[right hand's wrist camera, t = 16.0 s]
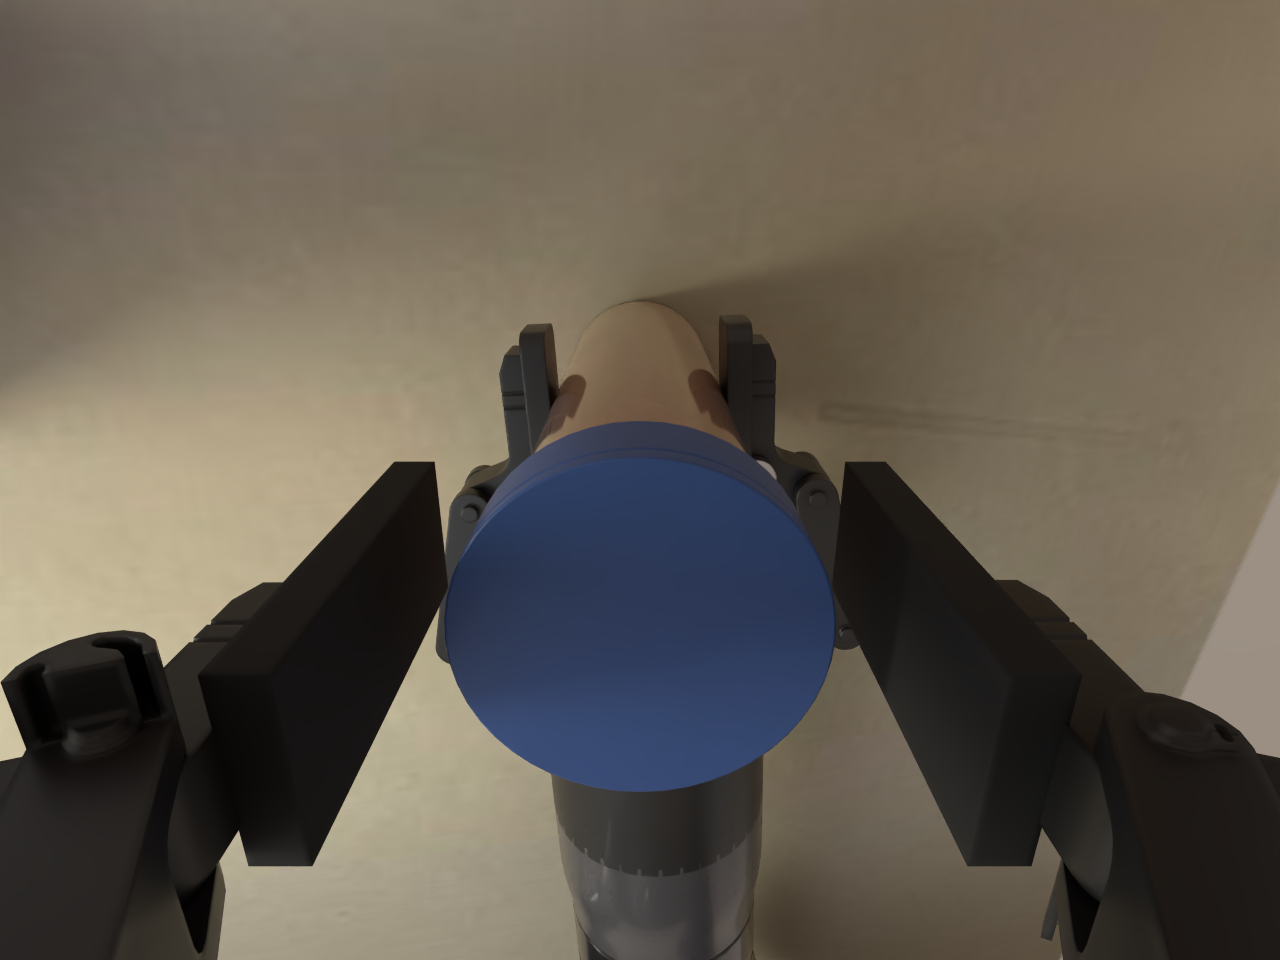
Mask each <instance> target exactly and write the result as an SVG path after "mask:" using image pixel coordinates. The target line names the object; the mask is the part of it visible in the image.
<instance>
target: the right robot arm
mask: <svg viewBox="0 0 1280 960" xmlns="http://www.w3.org/2000/svg"><path fill="white" fill-rule="evenodd" d="M447 590H448V579H447V570H446V561H445V552H444V543H443V534H442V525H441V516H440V507H439V498H438V488H437V479H436V470H435V462H394V463H393V464H392V465H391V466H390V467H389V468H388V469H387V470H386V472H385V473H384V474H383V475H382V476H381V477H380V478H379V479H378V480H377V481H376V482H375V483H374V485H373V486H372V487H371V488H370V489H369V490H368V491H367V492H366V493H365V494H364V495H363V496H362V498H361V499H360V500H359V501H358V502H357V503H356V504H355V505H354V506H353V507H352V508H351V509H350V511H349V512H348V513H347V514H346V515H345V516H344V517H343V518H342V519H341V520H340V521H339V522H338V524H337V525H336V526H335V527H334V528H333V529H332V530H331V531H330V532H329V533H328V534H327V535H326V536H325V538H324V539H323V540H322V541H321V542H320V543H319V544H318V545H317V546H316V547H315V548H314V549H313V551H312V552H311V553H310V554H309V555H308V556H307V557H306V558H305V559H304V560H303V561H302V562H301V564H300V565H299V566H298V567H297V568H296V569H295V570H294V571H293V572H292V573H291V574H290V575H289V577H288V578H287V579H286V580H285V581H284V582H263V583H261V584H260V585H258V586H256V587H254V588H253V589H251V590H249V591H247V592H245V593H244V594H242V595H240V596H238V597H237V598H235V599H233V600H231V601H230V602H229V603H228V604H227V605H226V606H225V607H224V608H223V609H222V610H221V611H220V612H219V613H218V614H217V615H216V616H215V617H214V618H213V619H212V620H211V625H206V626H205V627H204V628H203V629H202V630H201V631H200V632H199V633H198V634H197V635H196V636H195V637H194V641H193V642H189V643H188V644H187V645H186V646H185V647H184V648H183V649H182V650H181V651H180V652H179V653H178V654H177V655H176V656H175V657H174V658H173V659H172V660H171V661H170V662H169V663H168V664H167V665H166V666H165V667H164V668H163V664H162V661H161V657H160V654H159V650H158V647H157V643H156V640H155V639H153V638H151V637H150V636H148V635H147V634H145V633H142V632H134V631H126V630H121V631H112V632H102V633H95V634H91V635H88V636H84V637H80V638H76V639H72V640H68V641H66V642H63V643H61V644H59V645H56V646H54V647H51V648H49V649H46V650H44V651H42V652H39V653H38V654H36V655H34V656H33V657H31V658H29V659H28V660H26V661H25V662H23V663H21V664H20V665H18V666H16V667H15V668H14V669H13V670H12V671H11V672H10V673H9V674H8V675H7V676H6V677H5V678H4V679H3V680H2V681H1V685H2V688H3V690H4V693H5V695H6V698H7V700H8V703H9V706H10V708H11V711H12V713H13V716H14V718H15V721H16V724H17V726H18V729H19V731H20V734H21V736H22V739H23V742H24V744H25V747H26V751H25V753H24V755H23V757H19V758H14V759H9V760H5V761H0V960H217V957H218V949H219V941H220V933H221V925H222V917H223V909H224V901H225V892H226V889H225V883H224V877H223V873H222V869H221V866H220V863H219V860H220V859H221V857H222V856H223V854H224V853H225V851H226V849H227V848H228V846H229V845H230V843H231V841H232V840H233V838H234V837H235V835H236V834H237V832H238V830H239V832H240V836H241V840H242V843H243V847H244V851H245V855H246V858H247V862H248V866H313V864H314V862H315V860H316V858H317V856H318V854H319V852H320V850H321V847H322V845H323V843H324V841H325V839H326V837H327V835H328V833H329V831H330V829H331V827H332V825H333V823H334V821H335V819H336V817H337V815H338V813H339V811H340V809H341V807H342V805H343V802H344V800H345V798H346V796H347V794H348V792H349V790H350V788H351V786H352V784H353V782H354V780H355V778H356V776H357V774H358V772H359V770H360V768H361V766H362V764H363V762H364V760H365V757H366V755H367V753H368V751H369V749H370V747H371V745H372V743H373V741H374V739H375V737H376V735H377V733H378V731H379V729H380V727H381V725H382V723H383V721H384V719H385V717H386V715H387V712H388V710H389V708H390V706H391V704H392V702H393V700H394V698H395V696H396V694H397V692H398V690H399V688H400V686H401V684H402V682H403V680H404V678H405V676H406V674H407V672H408V670H409V668H410V665H411V663H412V661H413V659H414V657H415V655H416V653H417V651H418V649H419V647H420V645H421V643H422V641H423V639H424V637H425V635H426V633H427V631H428V629H429V627H430V625H431V623H432V620H433V618H434V616H435V614H436V612H437V610H438V608H439V606H440V604H441V602H442V600H443V598H444V596H445V594H446V592H447ZM832 590H833V592H834V594H835V596H836V598H837V600H838V602H839V604H840V606H841V608H842V610H843V612H844V614H845V616H846V618H847V620H848V623H849V625H850V627H851V629H852V631H853V633H854V635H855V637H856V639H857V641H858V643H859V645H860V647H861V649H862V651H863V653H864V655H865V657H866V659H867V661H868V663H869V665H870V668H871V670H872V672H873V674H874V676H875V678H876V680H877V682H878V684H879V686H880V688H881V690H882V692H883V694H884V696H885V698H886V700H887V702H888V704H889V706H890V708H891V710H892V712H893V715H894V717H895V719H896V721H897V723H898V725H899V727H900V729H901V731H902V733H903V735H904V737H905V739H906V741H907V743H908V745H909V747H910V749H911V751H912V753H913V755H914V757H915V760H916V762H917V764H918V766H919V768H920V770H921V772H922V774H923V776H924V778H925V780H926V782H927V784H928V786H929V788H930V790H931V792H932V794H933V796H934V798H935V800H936V802H937V805H938V807H939V809H940V811H941V813H942V815H943V817H944V819H945V821H946V823H947V825H948V827H949V829H950V831H951V833H952V835H953V837H954V839H955V841H956V843H957V845H958V847H959V850H960V852H961V854H962V856H963V858H964V860H965V862H966V864H967V866H1032V862H1033V858H1034V855H1035V851H1036V847H1037V843H1038V840H1039V836H1040V832H1041V829H1042V828H1043V830H1044V831H1045V833H1046V834H1047V836H1048V838H1049V839H1050V841H1051V842H1052V844H1053V845H1054V847H1055V849H1056V850H1057V852H1058V853H1059V855H1060V856H1061V858H1062V859H1061V863H1060V866H1059V869H1058V873H1057V876H1056V880H1055V883H1054V887H1053V890H1052V894H1051V897H1050V901H1049V904H1048V908H1047V911H1046V915H1045V918H1044V922H1043V928H1042V933H1041V938H1044V939H1047V940H1051V941H1052V938H1053V935H1054V931H1055V928H1056V925H1057V924H1058V923H1059V931H1060V939H1061V947H1062V955H1063V960H1280V758H1277V757H1272V756H1267V755H1263V754H1258V753H1256V751H1255V749H1254V748H1253V747H1252V745H1251V744H1250V743H1249V742H1248V741H1247V739H1246V738H1245V737H1244V736H1243V734H1242V733H1241V732H1240V731H1239V730H1237V729H1236V728H1235V727H1233V726H1232V725H1230V724H1229V723H1228V722H1226V721H1225V720H1223V719H1222V718H1221V717H1219V716H1218V715H1216V714H1214V713H1212V712H1210V711H1208V710H1205V709H1203V708H1201V707H1199V706H1197V705H1195V704H1193V703H1191V702H1187V701H1184V700H1181V699H1177V698H1174V697H1171V696H1167V695H1164V694H1157V693H1149V692H1144V691H1143V690H1142V689H1141V688H1140V687H1139V686H1138V685H1137V684H1136V683H1135V682H1134V681H1133V680H1132V679H1131V678H1130V677H1129V676H1128V675H1127V674H1126V673H1125V672H1124V671H1123V670H1122V669H1121V668H1120V667H1119V666H1118V665H1117V664H1116V663H1115V662H1114V661H1113V660H1112V659H1111V658H1110V657H1109V656H1108V655H1107V654H1106V653H1105V652H1104V651H1103V650H1101V649H1100V648H1099V647H1098V646H1097V645H1096V644H1095V643H1094V642H1093V641H1092V640H1088V639H1087V635H1086V634H1085V633H1084V632H1083V631H1082V630H1081V629H1080V628H1079V627H1078V626H1077V625H1076V624H1075V623H1074V622H1070V620H1069V619H1070V618H1069V617H1068V616H1067V615H1066V614H1065V613H1064V612H1063V611H1062V610H1061V609H1060V608H1059V607H1058V606H1057V605H1056V604H1055V603H1054V602H1053V601H1052V600H1051V599H1050V598H1048V597H1047V596H1045V595H1043V594H1041V593H1040V592H1038V591H1036V590H1034V589H1032V588H1031V587H1029V586H1027V585H1025V584H1023V583H1022V582H1020V581H1018V580H994V579H993V578H992V577H991V575H990V574H989V573H988V572H987V571H986V570H985V569H984V568H983V567H982V566H981V565H980V564H979V562H978V561H977V560H976V559H975V558H974V557H973V556H972V555H971V554H970V553H969V552H968V551H967V549H966V548H965V547H964V546H963V545H962V544H961V543H960V542H959V541H958V540H957V539H956V538H955V536H954V535H953V534H952V533H951V532H950V531H949V530H948V529H947V528H946V527H945V526H944V525H943V524H942V522H941V521H940V520H939V519H938V518H937V517H936V516H935V515H934V514H933V513H932V512H931V511H930V509H929V508H928V507H927V506H926V505H925V504H924V503H923V502H922V501H921V500H920V499H919V498H918V496H917V495H916V494H915V493H914V492H913V491H912V490H911V489H910V488H909V487H908V486H907V485H906V483H905V482H904V481H903V480H902V479H901V478H900V477H899V476H898V475H897V474H896V473H895V472H894V470H893V469H892V468H891V467H890V466H889V465H888V464H887V463H886V462H845V470H844V479H843V488H842V498H841V507H840V516H839V525H838V534H837V543H836V552H835V561H834V570H833V579H832Z"/></svg>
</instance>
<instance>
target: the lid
mask: <svg viewBox="0 0 1280 960" xmlns="http://www.w3.org/2000/svg"><path fill="white" fill-rule="evenodd" d="M444 625H445V642H446V647H447V652H448V657H449V662H450V665H451V668H452V671H453V674H454V677H455V679H456V682H457V685H458V687H459V688H460V690H461V692H462V694H463V696H464V698H465V700H466V702H467V703H468V705H469V706H470V708H471V709H472V710H473V712H474V713H475V715H476V716H477V717H478V719H479V720H480V721H481V722H482V724H483V725H484V726H485V727H486V728H487V729H488V730H489V731H490V732H491V733H492V734H493V735H494V736H495V737H496V738H497V739H498V740H499V741H500V742H502V743H503V744H504V745H505V746H506V747H508V748H509V749H510V750H511V751H513V752H514V753H516V754H517V755H519V756H520V757H522V758H523V759H525V760H526V761H528V762H529V763H531V764H533V765H535V766H537V767H539V768H541V769H543V770H545V771H547V772H549V773H551V774H553V775H556V776H559V777H561V778H564V779H567V780H569V781H572V782H576V783H580V784H584V785H587V786H591V787H595V788H602V789H609V790H615V791H631V792H650V791H666V790H672V789H678V788H684V787H689V786H693V785H697V784H701V783H704V782H708V781H711V780H714V779H716V778H719V777H722V776H724V775H727V774H729V773H732V772H734V771H736V770H738V769H739V768H741V767H743V766H745V765H747V764H749V763H751V762H753V761H754V760H756V759H757V758H759V757H760V756H762V755H763V754H765V753H766V752H768V751H769V750H770V749H772V748H773V747H774V746H775V745H776V744H777V743H779V742H780V741H781V740H782V739H783V738H784V737H786V736H787V735H788V734H789V733H790V731H791V730H792V729H793V728H794V727H795V726H796V725H797V724H798V723H799V722H800V720H801V719H802V718H803V717H804V715H805V714H806V712H807V711H808V709H809V708H810V707H811V705H812V704H813V702H814V701H815V699H816V697H817V695H818V693H819V691H820V689H821V687H822V685H823V683H824V681H825V678H826V675H827V672H828V669H829V666H830V663H831V660H832V655H833V649H834V644H835V636H836V612H835V604H834V596H833V592H832V588H831V585H830V581H829V578H828V574H827V572H826V569H825V567H824V565H823V563H822V561H821V559H820V556H819V554H818V552H817V550H816V548H815V546H814V544H813V542H812V540H811V538H810V536H809V534H808V532H807V530H806V528H805V526H804V524H803V522H802V520H801V518H800V516H799V514H798V512H797V510H796V508H795V506H794V504H793V503H792V501H791V500H790V498H789V497H788V495H787V494H786V492H785V491H784V489H783V488H782V486H781V485H780V484H779V483H778V482H777V481H776V480H775V478H774V477H773V476H772V475H771V474H770V473H769V472H768V471H767V470H766V469H765V468H764V467H763V466H761V465H760V464H759V463H758V462H757V461H756V460H754V459H753V458H752V457H751V456H749V455H748V454H746V453H745V452H743V451H742V450H740V449H739V448H737V447H735V446H734V445H732V444H731V443H729V442H726V441H724V440H722V439H720V438H718V437H716V436H714V435H712V434H709V433H706V432H703V431H700V430H697V429H693V428H690V427H687V426H682V425H676V424H671V423H666V422H653V421H627V422H614V423H609V424H604V425H599V426H594V427H590V428H587V429H584V430H581V431H578V432H575V433H572V434H569V435H566V436H564V437H562V438H560V439H558V440H556V441H554V442H552V443H550V444H548V445H546V446H545V447H543V448H542V449H540V450H539V451H537V452H536V453H534V454H533V455H531V456H530V457H528V458H527V459H526V460H525V461H523V462H522V463H521V464H520V465H519V466H518V467H517V468H516V469H514V470H513V471H512V472H511V473H510V474H509V475H508V477H507V478H506V479H505V480H504V481H503V482H502V484H501V485H500V486H499V487H498V488H497V489H496V491H495V493H494V494H493V496H492V497H491V499H490V500H489V502H488V504H487V505H486V507H485V509H484V511H483V513H482V515H481V517H480V519H479V521H478V523H477V525H476V527H475V529H474V531H473V533H472V535H471V537H470V539H469V541H468V543H467V545H466V547H465V549H464V551H463V553H462V555H461V557H460V559H459V562H458V564H457V566H456V568H455V571H454V573H453V575H452V579H451V583H450V586H449V590H448V594H447V598H446V607H445V617H444Z"/></svg>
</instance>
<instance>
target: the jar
mask: <svg viewBox="0 0 1280 960" xmlns="http://www.w3.org/2000/svg"><path fill="white" fill-rule="evenodd" d="M627 421H653V422H666V423H671V424H676V425H682V426H687V427H690V428H693V429H697V430H700V431H703V432H706V433H709V434H712V435H714V436H716V437H718V438H720V439H722V440H724V441H726V442H729V443H731V444H732V445H734V446H735V447H737V448H739V449H740V450H742V451H743V452H745V453H746V454H748V453H747V450H746V448H745V445H744V443H743V441H742V438H741V436H740V434H739V431H738V429H737V426H736V424H735V422H734V419H733V417H732V415H731V412H730V410H729V407H728V405H727V403H726V400H725V398H724V396H723V393H722V391H721V388H720V386H719V384H718V381H717V379H716V377H715V374H714V372H713V369H712V367H711V365H710V362H709V360H708V358H707V355H706V353H705V350H704V348H703V346H702V343H701V341H700V339H699V337H698V335H697V333H696V331H695V330H694V329H693V327H692V326H691V325H690V324H689V323H688V322H687V321H686V320H685V319H684V318H683V317H682V316H681V315H679V314H678V313H677V312H675V311H673V310H672V309H670V308H668V307H665V306H663V305H660V304H656V303H652V302H644V301H636V302H628V303H623V304H620V305H617V306H614V307H612V308H610V309H608V310H606V311H605V312H603V313H602V314H600V315H599V316H598V317H597V318H595V319H594V320H593V321H592V322H591V324H590V325H589V326H588V327H587V329H586V330H585V331H584V333H583V335H582V337H581V339H580V340H579V343H578V345H577V348H576V350H575V352H574V355H573V357H572V360H571V362H570V364H569V367H568V369H567V372H566V374H565V376H564V379H563V381H562V383H561V386H560V388H559V391H558V393H557V395H556V398H555V400H554V403H553V405H552V407H551V410H550V412H549V415H548V417H547V419H546V422H545V424H544V426H543V429H542V431H541V434H540V436H539V438H538V441H537V443H536V446H535V448H534V450H533V453H532V455H533V454H534V453H536V452H537V451H539V450H540V449H542V448H543V447H545V446H546V445H548V444H550V443H552V442H554V441H556V440H558V439H560V438H562V437H564V436H566V435H569V434H572V433H575V432H578V431H581V430H584V429H587V428H590V427H594V426H599V425H604V424H609V423H614V422H627Z"/></svg>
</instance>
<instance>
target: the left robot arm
mask: <svg viewBox="0 0 1280 960" xmlns="http://www.w3.org/2000/svg"><path fill="white" fill-rule="evenodd" d="M499 375H500V383H501V392H502V400H503V407H504V416H505V424H506V432H507V440H508V449H509V458H508V459H507V460H505V461H503V462H501V463H498V464H496V465H493V466H489V465H482V466H478V467H476V468H474V469H473V470H472V471H471V473H470V474H469V476H468V477H467V479H466V481H465V485H464V487H463V488H462V490H461V492H459V493H458V494H457V495H456V497H455V499H454V500H453V502H452V503H451V506H450V511H449V521H448V531H447V540H446V550H445V561H446V570H447V579H448V590H449V586H450V583H451V579H452V575H453V573H454V571H455V568H456V566H457V564H458V562H459V559H460V557H461V555H462V553H463V551H464V549H465V547H466V545H467V543H468V541H469V539H470V537H471V535H472V533H473V531H474V529H475V527H476V525H477V523H478V521H479V519H480V517H481V515H482V513H483V511H484V509H485V507H486V505H487V504H488V502H489V500H490V499H491V497H492V496H493V494H494V493H495V491H496V489H497V488H498V487H499V486H500V485H501V484H502V482H503V481H504V480H505V479H506V478H507V477H508V475H509V474H510V473H511V472H512V471H513V470H514V469H516V468H517V467H518V466H519V465H520V464H521V463H522V462H523V461H525V460H526V459H527V458H528V457H530V456H531V455H532V453H533V450H534V448H535V446H536V443H537V441H538V438H539V436H540V434H541V431H542V429H543V426H544V424H545V422H546V419H547V417H548V415H549V412H550V410H551V407H552V405H553V403H554V400H555V398H556V395H557V393H558V391H559V385H558V374H557V364H556V353H555V342H554V333H553V327H552V324H551V323H550V324H530V325H527V326H526V327H525V328H524V329H523V330H522V331H521V333H520V337H519V346H512V347H511V348H510V350H509V351H508V352H507V353H506V354H505V356H504V359H503V363H502V366H501V370H500V373H499ZM775 380H776V360H775V358H774V355H773V353H772V350H771V347H770V345H769V343H768V342H767V341H766V340H765V338H764V337H763V336H762V335H761V334H759V335H753V333H752V325H751V322H750V321H749V320H748V318H747V317H746V316H745V315H727V316H720V318H719V386H720V388H721V391H722V393H723V396H724V398H725V400H726V403H727V405H728V407H729V410H730V412H731V415H732V417H733V419H734V422H735V424H736V426H737V429H738V431H739V434H740V436H741V438H742V441H743V443H744V445H745V448H746V450H747V453H748V455H749V456H751V457H752V458H753V459H754V460H756V461H757V462H758V463H759V464H760V465H761V466H763V467H764V468H765V469H766V470H767V471H768V472H769V473H770V474H771V475H772V476H773V477H774V478H775V480H776V481H777V482H778V483H779V484H780V485H781V486H782V488H783V489H784V491H785V492H786V494H787V495H788V497H789V498H790V500H791V501H792V503H793V504H794V506H795V508H796V510H797V512H798V514H799V516H800V518H801V520H802V522H803V524H804V526H805V528H806V530H807V532H808V534H809V536H810V538H811V540H812V542H813V544H814V546H815V548H816V550H817V552H818V554H819V556H820V559H821V561H822V563H823V565H824V567H825V569H826V572H827V574H828V578H829V581H830V585H831V588H832V579H833V570H834V561H835V552H836V543H837V534H838V525H839V516H840V507H841V506H840V501H839V496H838V492H837V489H836V487H835V486H834V484H833V483H832V481H831V480H830V478H829V477H828V475H827V474H826V472H825V471H824V470H823V468H822V467H821V465H820V464H819V462H818V461H817V459H816V458H815V457H814V456H813V455H812V454H810V453H808V452H796V453H793V452H790V451H787V450H783V449H781V448H779V447H777V446H775V445H774V430H775ZM448 590H447V592H446V594H445V596H444V598H443V600H442V602H441V604H440V609H439V618H438V628H437V638H436V652H437V654H438V656H439V657H440V658H441V659H442V660H443V661H445V662H447V663H449V664H450V662H449V657H448V652H447V647H446V642H445V625H444V617H445V607H446V598H447V594H448ZM832 592H833V590H832ZM833 596H834V604H835V612H836V636H835V644H834V647H836V648H838V649H842V650H848V649H852V648H855V647H857V646H858V645H859V643H858V641H857V639H856V637H855V635H854V633H853V631H852V629H851V627H850V625H849V623H848V620H847V618H846V616H845V614H844V612H843V610H842V608H841V606H840V604H839V602H838V600H837V598H836V596H835V594H834V592H833ZM551 776H552V785H553V793H554V802H555V810H556V818H557V827H558V835H559V843H560V852H561V858H562V863H563V868H564V872H565V876H566V880H567V883H568V886H569V889H570V892H571V895H572V898H573V903H574V913H575V922H576V931H577V939H578V948H579V955H580V960H756V957H755V954H754V951H753V916H754V889H755V885H756V880H757V876H758V870H759V864H760V857H761V845H762V795H763V755H762V756H760V757H759V758H757V759H756V760H754V761H753V762H751V763H749V764H747V765H745V766H743V767H741V768H739V769H738V770H736V771H734V772H732V773H729V774H727V775H724V776H722V777H719V778H716V779H714V780H711V781H708V782H704V783H701V784H697V785H693V786H689V787H684V788H678V789H672V790H666V791H650V792H631V791H615V790H609V789H602V788H595V787H591V786H587V785H584V784H580V783H576V782H572V781H569V780H567V779H564V778H561V777H559V776H556V775H553V774H551Z"/></svg>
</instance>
